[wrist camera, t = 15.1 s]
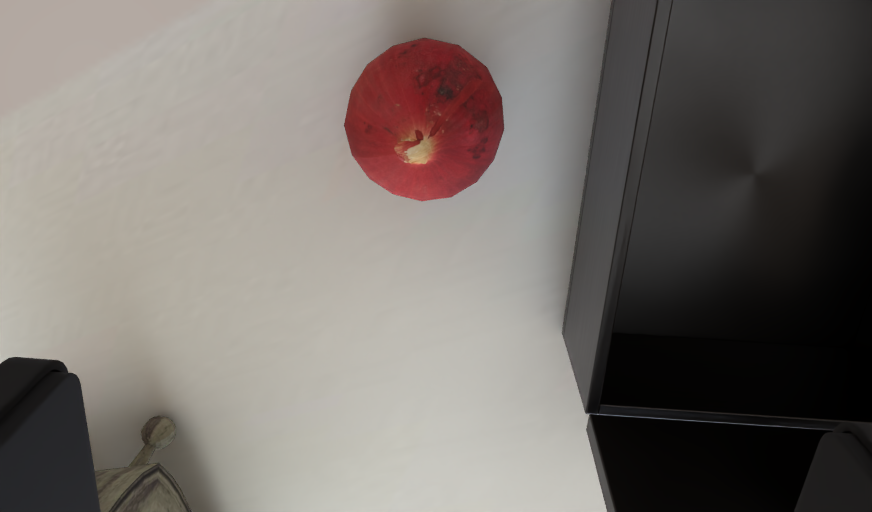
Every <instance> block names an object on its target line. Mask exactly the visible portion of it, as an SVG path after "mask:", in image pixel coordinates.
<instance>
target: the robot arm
mask: <svg viewBox="0 0 872 512" xmlns="http://www.w3.org/2000/svg"><path fill="white" fill-rule="evenodd" d="M0 512H101V510H100V504H99V498H98V491H97V485H96V479H95V472H94V466H93V460H92V453H91V447H90V441H89V434H88V428H87V422H86V415H85V409H84V403H83V396H82V390H81V384H80V381H79V378H78V377H77V375H75V374H73V373H68V370H67V368H66V366H65V365H64V363H63V362H60V361H58V360H47V359H34V358H21V357H12V358H8V359H7V360H5V361H3V362H2V363H1V364H0ZM794 512H872V423H859V422H843V423H840V424H839V425H838V426H836V427H835V429H834V431H833V432H828V433H825V434H824V435H823V436H822V438H821V439H820V441H819V444H818V447H817V449H816V452H815V455H814V458H813V461H812V463H811V466H810V469H809V472H808V474H807V477H806V480H805V483H804V486H803V488H802V491H801V494H800V497H799V499H798V502H797V505H796V508H795V510H794Z"/></svg>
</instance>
